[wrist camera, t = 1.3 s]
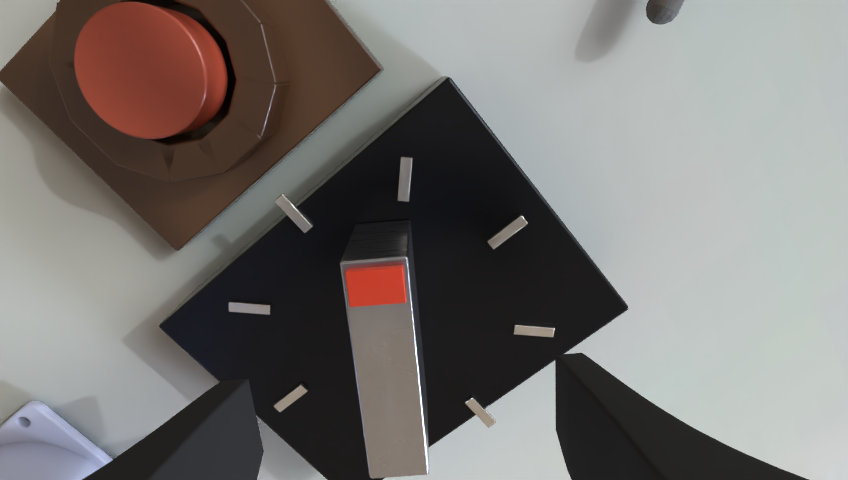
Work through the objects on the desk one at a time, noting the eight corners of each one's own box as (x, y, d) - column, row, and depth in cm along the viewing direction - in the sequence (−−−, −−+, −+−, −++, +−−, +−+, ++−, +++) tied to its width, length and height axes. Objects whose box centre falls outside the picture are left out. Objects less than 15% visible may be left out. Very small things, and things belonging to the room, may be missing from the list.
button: (173, 156, 17) (146, 165, 15) (83, 64, 16) (44, 63, 14) (253, 80, 16) (234, 82, 14) (163, -20, 15) (132, -31, 14)
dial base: (368, 458, 24) (360, 514, 21) (181, 281, 21) (141, 316, 18) (609, 287, 21) (641, 323, 18) (433, 61, 18) (436, 59, 15)
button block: (190, 241, 20) (153, 269, 18) (20, 75, 18) (-53, 76, 16) (384, 69, 18) (378, 68, 16) (218, -137, 17) (176, -180, 14)
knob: (427, 403, 19) (429, 481, 16) (378, 406, 19) (368, 486, 16) (410, 219, 17) (407, 260, 13) (355, 223, 17) (337, 265, 13)
